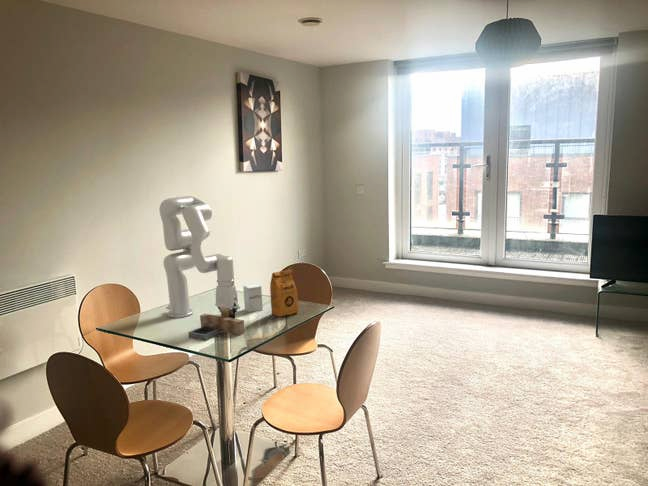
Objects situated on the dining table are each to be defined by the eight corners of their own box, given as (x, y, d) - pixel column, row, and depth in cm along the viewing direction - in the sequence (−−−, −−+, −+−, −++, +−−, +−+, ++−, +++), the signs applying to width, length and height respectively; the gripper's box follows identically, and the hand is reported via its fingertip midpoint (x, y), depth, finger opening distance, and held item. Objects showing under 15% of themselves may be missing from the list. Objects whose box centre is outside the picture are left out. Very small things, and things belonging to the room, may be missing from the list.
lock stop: (221, 324, 247) (220, 305, 246) (228, 321, 251) (227, 303, 249) (229, 325, 245) (227, 306, 243) (235, 322, 249) (234, 304, 247)
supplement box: (249, 312, 267) (247, 288, 265) (244, 309, 273) (242, 285, 271) (263, 310, 270) (261, 286, 268) (258, 306, 277) (256, 283, 274)
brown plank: (201, 327, 246) (200, 315, 245) (205, 325, 248) (204, 313, 247) (240, 335, 233) (239, 322, 232) (244, 333, 236) (243, 320, 235)
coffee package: (301, 314, 260) (298, 270, 256) (278, 319, 254) (275, 274, 250) (291, 309, 268) (289, 267, 265) (269, 314, 262) (266, 271, 258)
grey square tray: (188, 337, 233) (188, 332, 232) (205, 330, 241) (204, 325, 241) (205, 341, 227) (204, 335, 227) (221, 333, 236) (220, 328, 235)
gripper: (206, 283, 246) (209, 320, 249) (234, 287, 237) (236, 326, 240) (218, 279, 252) (220, 316, 255) (245, 283, 243) (247, 321, 246)
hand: (228, 320), depth 248 cm, fingers closed on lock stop, 4 cm apart
